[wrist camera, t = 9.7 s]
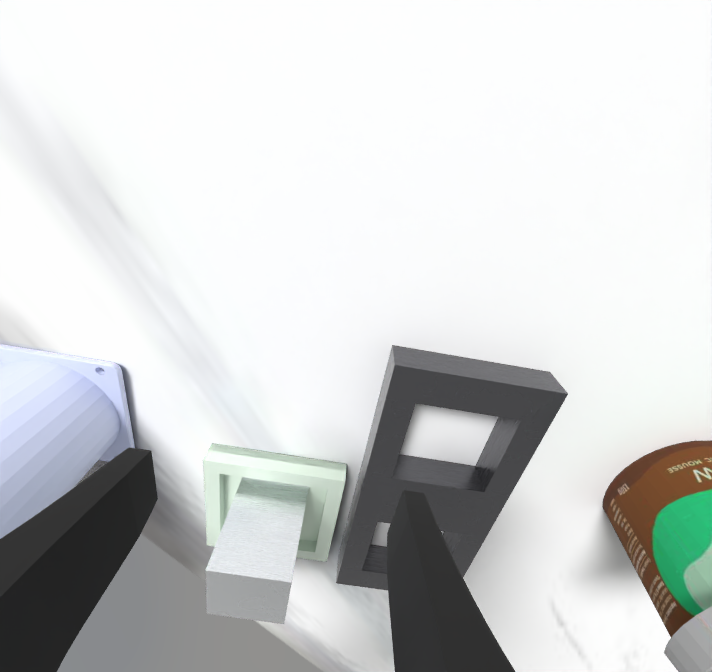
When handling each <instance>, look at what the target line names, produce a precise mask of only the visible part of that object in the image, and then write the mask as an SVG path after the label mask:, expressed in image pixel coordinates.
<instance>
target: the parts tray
mask: <svg viewBox="0 0 712 672" xmlns="http://www.w3.org/2000/svg"><path fill="white" fill-rule="evenodd" d="M346 467H347V464H343V463H336V462H330V461H323V460H317V459H310V458H304V457H297V456H290V455H284V454H277V453H271V452H264V451H258V450H251V449H245V448H238V447H231V446H225V445H218V444H212V445H211V446H210V448H209V450H208V452H207V454H206V456H205V457H204V459H203V470H204V492H205V515H206V537H207V546H214V547H215V545H216V542H217V540H218V537H219V535H220V532H221V530H222V527H223V525H224V522H225V520H226V517H227V515H228V512H229V509H230V507H231V504H232V502H233V499H234V497H235V494H236V492H237V489H238V487H239V484H240V482H241V479H242V477H246V478H253V479H260V480H266V481H273V482H280V483H287V484H293V485H300V486H307V487H309V489H308V495H307V500H306V506H305V511H304V517H303V523H302V528H301V533H300V539H299V544H298V550H297V555H296V558H301V559H308V560H316V561H323V562H327V558H328V554H329V550H330V545H331V541H332V537H333V533H334V528H335V524H336V520H337V515H338V511H339V507H340V502H341V498H342V494H343V490H344V485H345V480H346Z"/></svg>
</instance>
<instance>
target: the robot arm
mask: <svg viewBox="0 0 712 672" xmlns="http://www.w3.org/2000/svg"><path fill="white" fill-rule="evenodd" d="M101 368H102V369H103V370H104V371H103V370H102V369H101ZM98 460H101V461H108V463H107V464H105V465H104V466H103V467H101V468H100V469H99V470H97V471H96V472H95V473H93V474H92V475H91V476H89V477H88V478H86V479H85V480H84V481H82V482H81V483H80V484H78V485H77V483H78V482H79V481H80V480H81V479H82V478H83V477H84V475H85V474H86V473H87V472H88V471H89V470H90V469H91V468H92V466H93V465H94V464H95V463H96V462H97V461H98ZM76 485H77V486H76ZM75 486H76V487H75ZM157 499H158V498H157V491H156V483H155V476H154V468H153V461H152V453H151V451H149V450H143V449H136V448H135V445H134V439H133V433H132V427H131V421H130V416H129V410H128V404H127V398H126V392H125V386H124V380H123V374H122V370H121V368H120V366H119V365H117V364H116V363H113V362H108V361H102V360H96V359H89V358H83V357H77V356H71V355H65V354H58V353H52V352H46V351H40V350H34V349H28V348H21V347H15V346H9V345H3V344H0V672H57V670H58V668H59V666H60V664H61V662H62V661H63V659H64V657H65V655H66V653H67V652H68V650H69V648H70V647H71V645H72V643H73V641H74V640H75V638H76V636H77V635H78V633H79V631H80V630H81V628H82V627H83V625H84V623H85V622H86V620H87V619H88V617H89V616H90V614H91V612H92V611H93V609H94V608H95V606H96V604H97V603H98V601H99V600H100V598H101V596H102V595H103V593H104V592H105V590H106V589H107V587H108V585H109V584H110V582H111V581H112V579H113V578H114V576H115V574H116V573H117V571H118V570H119V568H120V567H121V565H122V563H123V562H124V560H125V559H126V557H127V555H128V554H129V552H130V551H131V549H132V547H133V546H134V544H135V542H136V541H137V539H138V537H139V536H140V534H141V532H142V530H143V528H144V526H145V524H146V522H147V520H148V518H149V516H150V514H151V512H152V509H153V507H154V505H155V503H156V501H157ZM387 580H388V592H389V605H390V617H391V629H392V641H393V653H394V665H395V672H515V670H514V669H513V667H512V665H511V664H510V662H509V661H508V659H507V657H506V656H505V654H504V652H503V651H502V649H501V647H500V646H499V644H498V642H497V640H496V639H495V637H494V635H493V633H492V632H491V630H490V628H489V626H488V625H487V623H486V621H485V619H484V617H483V616H482V614H481V612H480V610H479V608H478V606H477V605H476V603H475V601H474V599H473V597H472V595H471V593H470V591H469V589H468V587H467V585H466V583H465V581H464V579H463V577H462V575H461V573H460V571H459V569H458V567H457V565H456V563H455V561H454V559H453V557H452V555H451V553H450V551H449V549H448V546H447V544H446V542H445V540H444V537H443V535H442V533H441V531H440V529H439V526H438V524H437V522H436V519H435V517H434V515H433V512H432V510H431V507H430V505H429V502H428V500H427V497H426V496H425V494H424V493H419V492H413V491H406V490H403V492H402V495H401V497H400V500H399V503H398V506H397V508H396V511H395V514H394V517H393V519H392V522H391V525H390V528H389V530H388V536H387Z"/></svg>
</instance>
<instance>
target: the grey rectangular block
mask: <svg viewBox="0 0 712 672" xmlns="http://www.w3.org/2000/svg"><path fill="white" fill-rule="evenodd" d="M308 489H309V487H307V486H300V485H293V484H287V483H280V482H273V481H266V480H260V479H253V478H246V477H242V479H241V482H240V484H239V487H238V489H237V492H236V494H235V497H234V499H233V502H232V504H231V507H230V509H229V512H228V515H227V517H226V520H225V522H224V525H223V527H222V530H221V532H220V535H219V537H218V540H217V542H216V545H215V547H214V550H213V553H212V555H211V558H210V560H209V563H208V565H207V568H206V570H205V573H206V606H207V614H213V615H221V616H228V617H236V618H243V619H250V620H257V621H265V622H272V623H280V624H284V621H285V616H286V610H287V605H288V599H289V594H290V588H291V583H292V577H293V572H294V566H295V561H296V555H297V550H298V544H299V539H300V533H301V528H302V523H303V517H304V511H305V506H306V500H307V495H308Z"/></svg>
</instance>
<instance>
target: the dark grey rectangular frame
mask: <svg viewBox="0 0 712 672" xmlns="http://www.w3.org/2000/svg"><path fill="white" fill-rule="evenodd" d="M567 395H568V393H567V392H566V391H565V390H564V389H563V387H562V386H561V385H560V384H559V382H558V381H557V380H556V379H555V378H554V376H553V375H552V374H551V373H550V372H546V371H540V370H535V369H529V368H523V367H517V366H511V365H505V364H499V363H494V362H488V361H482V360H476V359H470V358H464V357H458V356H452V355H447V354H441V353H435V352H429V351H423V350H417V349H411V348H406V347H400V346H394V345H392V349H391V353H390V357H389V360H388V364H387V368H386V372H385V376H384V380H383V384H382V388H381V392H380V396H379V399H378V403H377V407H376V411H375V415H374V419H373V423H372V427H371V431H370V435H369V438H368V442H367V446H366V450H365V454H364V458H363V462H362V466H361V470H360V473H359V477H358V481H357V485H356V489H355V493H354V497H353V501H352V505H351V509H350V512H349V516H348V520H347V524H346V528H345V532H344V536H343V540H342V544H341V547H340V551H339V555H338V566H337V578H336V583H338V584H346V585H353V586H360V587H368V588H375V589H383V590H388V580H387V547H382V546H375V545H370V543H371V540H372V537H373V534H374V531H375V528H376V525H377V522H384V523H391V522H392V519H393V517H394V514H395V511H396V508H397V506H398V503H399V500H400V497H401V495H402V492H403V490H406V491H413V492H419V493H424V494H425V496H426V497H427V500H428V502H429V505H430V507H431V510H432V512H433V515H434V517H435V519H436V522H437V524H438V526H439V529H440V531H445V532H444V534H443V537H444V540H445V542H446V544H447V546H448V549H449V551H450V553H451V555H452V557H453V559H454V561H455V563H456V565H457V567H458V569H459V571H460V573H461V575H462V577H464V575H465V573H466V571H467V570H468V568H469V566H470V564H471V563H472V561H473V559H474V557H475V556H476V554H477V552H478V550H479V549H480V547H481V545H482V543H483V542H484V540H485V538H486V536H487V535H488V533H489V531H490V529H491V528H492V526H493V524H494V522H495V521H496V519H497V517H498V515H499V514H500V512H501V510H502V508H503V507H504V505H505V503H506V501H507V500H508V498H509V496H510V494H511V493H512V491H513V489H514V487H515V486H516V484H517V482H518V480H519V479H520V477H521V475H522V473H523V472H524V470H525V468H526V466H527V465H528V463H529V461H530V459H531V458H532V456H533V454H534V452H535V451H536V449H537V447H538V445H539V444H540V442H541V440H542V438H543V437H544V435H545V433H546V431H547V430H548V428H549V426H550V425H551V423H552V421H553V419H554V418H555V416H556V414H557V412H558V411H559V409H560V407H561V405H562V404H563V402H564V400H565V398H566V397H567ZM415 403H418V404H424V405H430V406H437V407H443V408H449V409H455V410H461V411H467V412H473V413H480V414H486V415H492V416H498V417H499V418H498V420H497V422H496V424H495V426H494V428H493V431H492V433H491V435H490V437H489V439H488V441H487V443H486V445H485V447H484V449H483V452H482V454H481V456H480V458H479V460H478V462H477V464H476V466H471V465H464V464H458V463H452V462H445V461H439V460H432V459H426V458H419V457H413V456H406V455H400V454H399V453H400V450H401V447H402V444H403V441H404V438H405V435H406V431H407V428H408V425H409V422H410V419H411V416H412V413H413V410H414V407H415Z"/></svg>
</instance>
